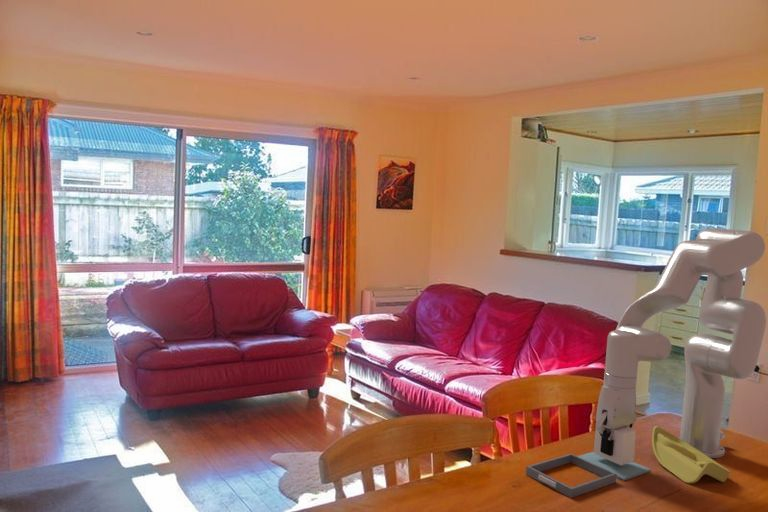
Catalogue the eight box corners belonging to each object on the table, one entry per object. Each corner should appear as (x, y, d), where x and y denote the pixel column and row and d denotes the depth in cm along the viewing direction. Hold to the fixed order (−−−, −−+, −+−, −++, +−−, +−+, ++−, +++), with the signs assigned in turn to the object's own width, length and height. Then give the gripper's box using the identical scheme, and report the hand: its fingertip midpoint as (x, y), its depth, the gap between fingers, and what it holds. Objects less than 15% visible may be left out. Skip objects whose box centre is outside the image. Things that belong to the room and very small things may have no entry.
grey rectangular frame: (570, 461, 158) (571, 453, 157) (615, 482, 147) (616, 474, 147) (524, 474, 148) (525, 466, 148) (569, 498, 137) (570, 489, 137)
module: (605, 449, 161) (608, 419, 161) (633, 461, 155) (636, 430, 154) (593, 453, 158) (596, 423, 158) (621, 465, 152) (624, 433, 151)
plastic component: (735, 474, 150) (706, 459, 146) (719, 500, 150) (690, 486, 147) (677, 436, 168) (651, 422, 165) (663, 460, 169) (637, 446, 166)
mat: (602, 450, 166) (602, 448, 166) (650, 471, 154) (650, 469, 154) (575, 458, 159) (575, 456, 159) (623, 480, 148) (623, 478, 148)
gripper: (627, 372, 163) (621, 440, 164) (585, 381, 153) (579, 452, 155) (653, 380, 157) (647, 450, 158) (611, 389, 147) (605, 464, 149)
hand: (613, 450), depth 156 cm, fingers open, 5 cm apart
